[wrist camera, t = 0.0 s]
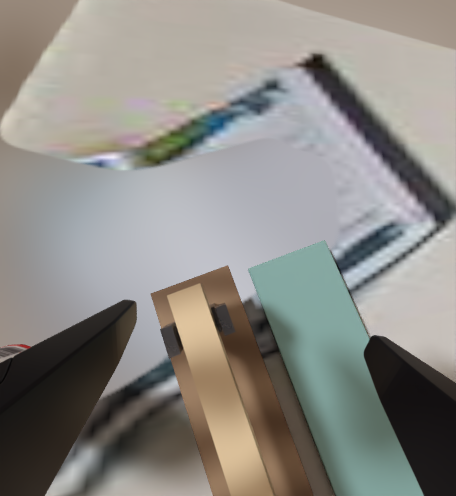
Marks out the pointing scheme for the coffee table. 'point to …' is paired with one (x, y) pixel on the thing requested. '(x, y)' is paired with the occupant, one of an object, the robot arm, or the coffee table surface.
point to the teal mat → (332, 373)
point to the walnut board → (250, 386)
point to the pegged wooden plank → (173, 337)
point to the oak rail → (219, 394)
